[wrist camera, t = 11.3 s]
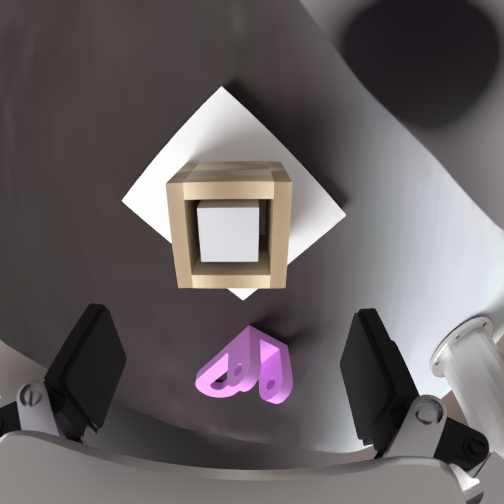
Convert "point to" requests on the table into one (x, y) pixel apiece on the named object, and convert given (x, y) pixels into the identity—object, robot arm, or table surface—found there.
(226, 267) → the wooden collar
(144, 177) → the plate
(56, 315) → the table surface
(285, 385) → the bracket
